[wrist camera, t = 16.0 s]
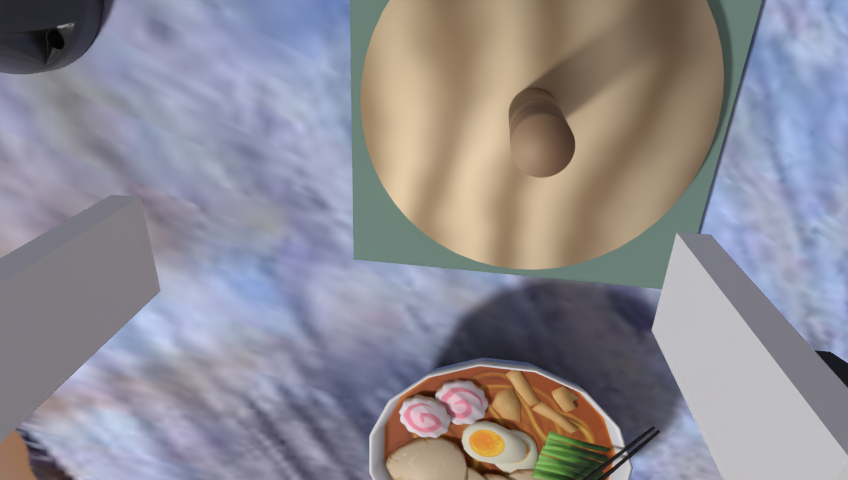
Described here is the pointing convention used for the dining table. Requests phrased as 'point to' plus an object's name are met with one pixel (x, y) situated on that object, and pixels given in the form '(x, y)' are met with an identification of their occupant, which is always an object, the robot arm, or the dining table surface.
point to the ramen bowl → (497, 428)
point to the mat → (627, 265)
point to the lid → (540, 120)
